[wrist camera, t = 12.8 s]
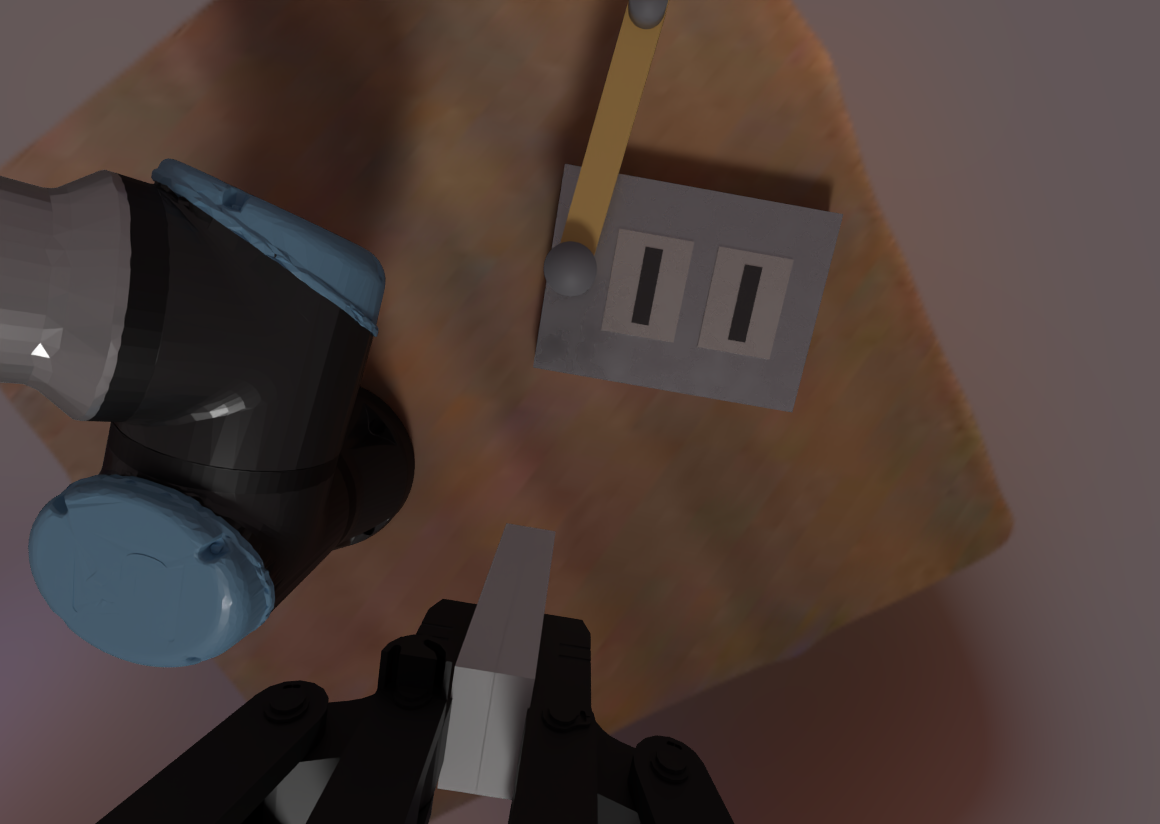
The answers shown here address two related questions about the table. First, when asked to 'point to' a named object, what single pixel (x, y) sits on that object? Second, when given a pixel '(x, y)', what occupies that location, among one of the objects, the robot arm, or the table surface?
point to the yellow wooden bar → (606, 149)
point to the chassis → (693, 293)
